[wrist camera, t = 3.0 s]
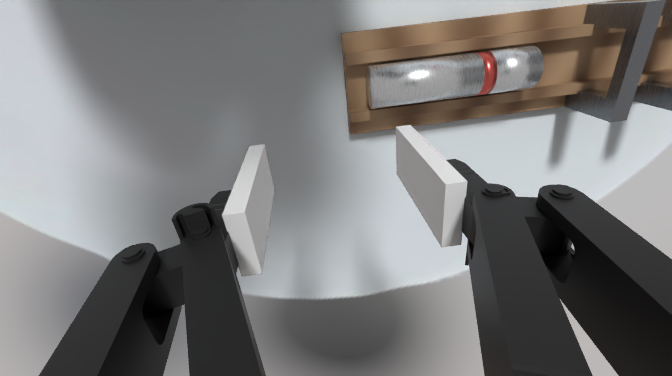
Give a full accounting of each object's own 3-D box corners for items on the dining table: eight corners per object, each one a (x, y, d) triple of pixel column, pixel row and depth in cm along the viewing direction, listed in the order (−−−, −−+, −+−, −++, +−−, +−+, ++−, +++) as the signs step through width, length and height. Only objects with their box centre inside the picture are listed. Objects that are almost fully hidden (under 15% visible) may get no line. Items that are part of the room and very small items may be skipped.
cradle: (349, 131, 36) (352, 138, 34) (341, 33, 32) (343, 34, 29) (671, 89, 38) (693, 93, 36) (710, -11, 33) (738, -13, 31)
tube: (367, 104, 34) (374, 112, 30) (364, 64, 32) (372, 67, 29) (515, 85, 35) (539, 91, 31) (520, 45, 33) (546, 46, 29)
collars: (563, 106, 36) (610, 122, 31) (587, 4, 32) (647, 1, 26) (637, 96, 37) (696, 110, 31) (671, -6, 32) (747, -11, 26)
